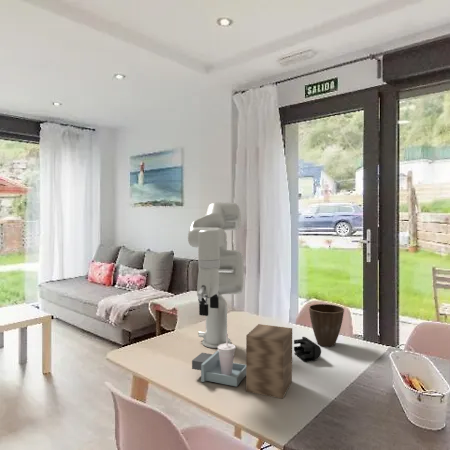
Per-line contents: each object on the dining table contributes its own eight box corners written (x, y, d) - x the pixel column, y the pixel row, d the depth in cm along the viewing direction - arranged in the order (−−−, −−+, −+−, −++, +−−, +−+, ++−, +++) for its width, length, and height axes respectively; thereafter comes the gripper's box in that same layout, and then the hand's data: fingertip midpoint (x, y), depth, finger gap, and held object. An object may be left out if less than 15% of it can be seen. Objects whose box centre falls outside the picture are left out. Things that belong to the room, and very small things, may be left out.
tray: (188, 379, 131) (188, 362, 131) (205, 364, 144) (205, 348, 143) (235, 388, 124) (235, 370, 124) (248, 371, 137) (248, 355, 136)
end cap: (321, 360, 148) (321, 344, 148) (305, 363, 146) (305, 345, 146) (308, 351, 157) (308, 335, 157) (293, 353, 155) (293, 337, 155)
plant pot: (304, 338, 173) (304, 304, 172) (335, 337, 174) (336, 303, 174) (315, 350, 158) (315, 313, 158) (349, 349, 160) (349, 312, 159)
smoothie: (238, 371, 135) (238, 332, 134) (232, 378, 129) (232, 338, 128) (221, 368, 137) (221, 330, 136) (215, 376, 131) (214, 336, 130)
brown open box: (246, 391, 123) (246, 335, 122) (258, 375, 135) (258, 324, 134) (282, 398, 118) (283, 340, 118) (292, 381, 130) (292, 328, 130)
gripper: (208, 260, 143) (208, 304, 144) (188, 267, 127) (189, 317, 128) (227, 261, 140) (227, 306, 141) (209, 268, 124) (209, 319, 125)
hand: (209, 311), depth 135 cm, fingers open, 9 cm apart
